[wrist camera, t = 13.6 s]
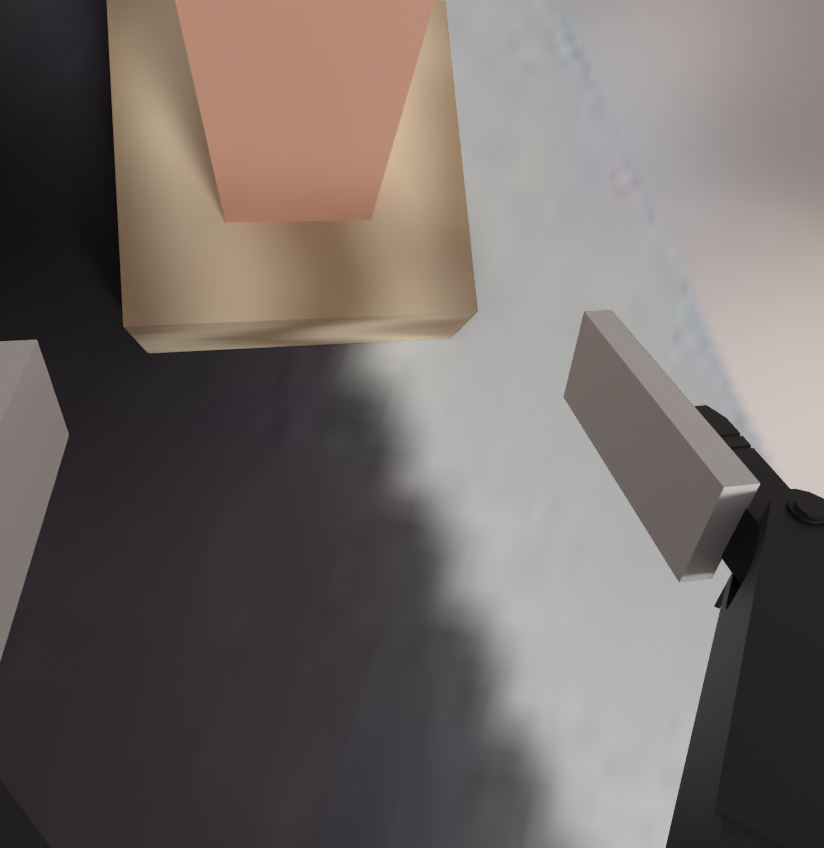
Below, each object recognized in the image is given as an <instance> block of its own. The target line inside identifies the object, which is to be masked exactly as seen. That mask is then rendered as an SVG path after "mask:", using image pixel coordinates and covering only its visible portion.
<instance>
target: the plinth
mask: <svg viewBox="0 0 824 848" xmlns="http://www.w3.org/2000/svg"><path fill="white" fill-rule="evenodd" d="M107 18H108V37H109V57H110V76H111V96H112V115H113V135H114V154H115V174H116V193H117V213H118V232H119V252H120V271H121V291H122V310H123V327H124V328H125V329H126V330H127V331H128V332H129V333H130V334H131V335H132V337H133V338H134V339H135V340H136V341H137V342H138V343H139V344H140V345H141V346H142V347H143V348H144V349H145V350H146V351H147V352H148V353H164V352H184V351H204V350H224V349H244V348H264V347H283V346H303V345H323V344H343V343H363V342H383V341H403V340H423V339H443V338H452V337H453V336H454V335H455V334H456V333H457V332H458V331H459V330H460V329H461V328H462V327H463V326H464V325H465V324H466V323H467V322H468V321H469V320H470V319H471V318H472V317H473V316H474V315H475V314H476V313H477V312H478V311H477V301H476V292H475V282H474V272H473V263H472V253H471V244H470V234H469V224H468V215H467V205H466V196H465V186H464V176H463V167H462V157H461V148H460V138H459V128H458V119H457V109H456V99H455V90H454V80H453V71H452V61H451V51H450V42H449V32H448V23H447V13H446V3H445V1H439V0H435V2H434V6H433V9H432V13H431V16H430V19H429V23H428V26H427V30H426V33H425V37H424V40H423V43H422V47H421V50H420V54H419V57H418V61H417V64H416V67H415V71H414V74H413V78H412V81H411V85H410V88H409V91H408V95H407V98H406V102H405V105H404V109H403V112H402V115H401V119H400V122H399V126H398V129H397V133H396V136H395V140H394V143H393V146H392V150H391V153H390V157H389V160H388V164H387V167H386V170H385V174H384V177H383V181H382V184H381V188H380V191H379V194H378V198H377V201H376V205H375V208H374V212H373V215H372V218H371V220H361V221H297V222H234V223H225V219H224V215H223V210H222V206H221V201H220V197H219V193H218V188H217V184H216V179H215V175H214V170H213V166H212V162H211V157H210V153H209V148H208V144H207V140H206V135H205V131H204V126H203V122H202V118H201V113H200V109H199V104H198V100H197V96H196V91H195V87H194V82H193V78H192V73H191V69H190V65H189V60H188V56H187V51H186V47H185V43H184V38H183V34H182V29H181V25H180V21H179V16H178V12H177V7H176V3H175V0H107Z"/></svg>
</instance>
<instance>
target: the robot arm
mask: <svg viewBox="0 0 824 848" xmlns="http://www.w3.org/2000/svg"><path fill="white" fill-rule="evenodd" d="M564 398H565V400H566V402H567V403H568V405H569V406H570V408H571V410H572V411H573V413H574V414H575V416H576V418H577V419H578V421H579V422H580V424H581V426H582V427H583V429H584V430H585V432H586V434H587V435H588V437H589V439H590V440H591V442H592V443H593V445H594V447H595V448H596V450H597V451H598V453H599V455H600V456H601V458H602V459H603V461H604V463H605V464H606V466H607V467H608V469H609V471H610V472H611V474H612V475H613V477H614V479H615V480H616V482H617V483H618V485H619V487H620V488H621V490H622V491H623V493H624V495H625V496H626V498H627V499H628V501H629V503H630V504H631V506H632V507H633V509H634V511H635V512H636V514H637V515H638V517H639V519H640V520H641V522H642V523H643V525H644V527H645V528H646V530H647V531H648V533H649V535H650V536H651V538H652V540H653V541H654V543H655V544H656V546H657V548H658V549H659V551H660V552H661V554H662V556H663V557H664V559H665V560H666V562H667V564H668V565H669V567H670V568H671V570H672V572H673V573H674V575H675V576H676V578H677V580H678V581H679V582H686V581H694V580H701V579H708V578H712V577H713V575H714V573H715V571H716V569H717V567H718V565H719V563H720V561H721V559H723V560H724V562H725V563H726V565H727V566H728V568H729V569H730V570H731V572H732V574H731V576H730V578H729V580H728V581H727V583H726V585H725V587H724V589H723V591H722V593H721V594H720V596H719V598H718V600H717V602H716V604H715V606H714V607H717V608H719V609H720V607H721V609H720V613H719V618H718V622H717V627H716V631H715V635H714V640H713V644H712V648H711V653H710V657H709V661H708V666H707V670H706V674H705V679H704V683H703V688H702V692H701V696H700V701H699V705H698V709H697V714H696V718H695V722H694V727H693V731H692V736H691V740H690V744H689V749H688V753H687V757H686V762H685V766H684V770H683V775H682V779H681V783H680V788H679V792H678V797H677V801H676V805H675V810H674V814H673V818H672V823H671V827H670V831H669V836H668V840H667V845H666V848H824V499H823V498H821V497H819V496H817V495H815V494H812V493H810V492H806V491H802V490H798V489H790V488H789V487H788V486H787V485H786V484H785V483H784V482H783V480H782V479H781V478H780V477H779V476H778V475H777V474H776V473H775V472H774V470H773V469H772V468H771V467H770V466H769V465H768V464H767V463H766V462H765V460H764V459H763V458H762V457H761V456H760V455H759V454H758V453H757V452H756V450H755V449H754V448H751V445H750V444H749V443H748V442H747V440H746V439H745V438H744V437H743V436H740V433H739V432H738V430H737V429H736V428H735V427H734V426H733V425H732V424H731V423H730V422H729V420H728V419H727V418H725V417H724V416H722V415H721V414H719V413H718V412H716V411H715V410H713V409H711V408H710V407H708V406H707V405H704V406H694V405H693V404H692V403H691V402H690V401H689V400H688V398H687V397H686V396H685V395H684V394H683V393H682V391H681V390H680V389H679V388H678V387H677V386H676V384H675V383H674V382H673V381H672V380H671V379H670V377H669V376H668V375H667V374H666V373H665V372H664V370H663V369H662V368H661V367H660V366H659V365H658V363H657V362H656V361H655V360H654V359H653V358H652V356H651V355H650V354H649V353H648V352H647V351H646V350H645V348H644V347H643V346H642V345H641V344H640V343H639V341H638V340H637V339H636V338H635V337H634V336H633V334H632V333H631V332H630V331H629V330H628V329H627V327H626V326H625V325H624V324H623V323H622V322H621V320H620V319H619V318H618V317H617V316H616V315H615V313H614V312H613V311H612V310H601V311H584V314H583V319H582V323H581V327H580V331H579V335H578V339H577V344H576V348H575V352H574V356H573V360H572V364H571V369H570V373H569V377H568V381H567V385H566V389H565V394H564ZM68 436H69V434H68V431H67V428H66V425H65V422H64V419H63V416H62V413H61V410H60V407H59V404H58V401H57V398H56V395H55V392H54V389H53V386H52V383H51V380H50V377H49V374H48V371H47V368H46V365H45V362H44V359H43V356H42V353H41V350H40V347H39V344H38V341H37V340H19V341H0V660H1V657H2V654H3V650H4V647H5V644H6V640H7V637H8V634H9V631H10V627H11V624H12V621H13V617H14V614H15V611H16V608H17V604H18V601H19V598H20V594H21V591H22V588H23V585H24V581H25V578H26V575H27V571H28V568H29V565H30V561H31V558H32V555H33V552H34V548H35V545H36V542H37V538H38V535H39V532H40V529H41V525H42V522H43V519H44V515H45V512H46V509H47V506H48V502H49V499H50V496H51V492H52V489H53V486H54V483H55V479H56V476H57V473H58V469H59V466H60V463H61V459H62V456H63V453H64V450H65V446H66V443H67V440H68ZM0 848H51V847H50V845H49V844H48V843H47V841H46V840H45V839H44V837H43V836H42V835H41V833H40V832H39V831H38V829H37V828H36V827H35V825H34V824H33V823H32V821H31V820H30V819H29V818H28V816H27V815H26V814H25V812H24V811H23V810H22V808H21V807H20V806H19V804H18V803H17V802H16V800H15V799H14V798H13V796H12V795H11V794H10V792H9V791H8V790H7V788H6V787H5V786H4V784H3V783H2V782H1V781H0Z"/></svg>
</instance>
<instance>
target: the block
mask: <svg viewBox="0 0 824 848" xmlns="http://www.w3.org/2000/svg"><path fill="white" fill-rule="evenodd" d="M434 2H435V0H175V3H176V7H177V12H178V16H179V21H180V25H181V29H182V34H183V38H184V43H185V47H186V51H187V56H188V60H189V65H190V69H191V73H192V78H193V82H194V87H195V91H196V96H197V100H198V104H199V109H200V113H201V118H202V122H203V126H204V131H205V135H206V140H207V144H208V148H209V153H210V157H211V162H212V166H213V170H214V175H215V179H216V184H217V188H218V193H219V197H220V201H221V206H222V210H223V215H224V219H225V223H234V222H297V221H361V220H371V218H372V215H373V212H374V208H375V205H376V201H377V198H378V194H379V191H380V188H381V184H382V181H383V177H384V174H385V170H386V167H387V164H388V160H389V157H390V153H391V150H392V146H393V143H394V140H395V136H396V133H397V129H398V126H399V122H400V119H401V115H402V112H403V109H404V105H405V102H406V98H407V95H408V91H409V88H410V85H411V81H412V78H413V74H414V71H415V67H416V64H417V61H418V57H419V54H420V50H421V47H422V43H423V40H424V37H425V33H426V30H427V26H428V23H429V19H430V16H431V13H432V9H433V6H434Z"/></svg>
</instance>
